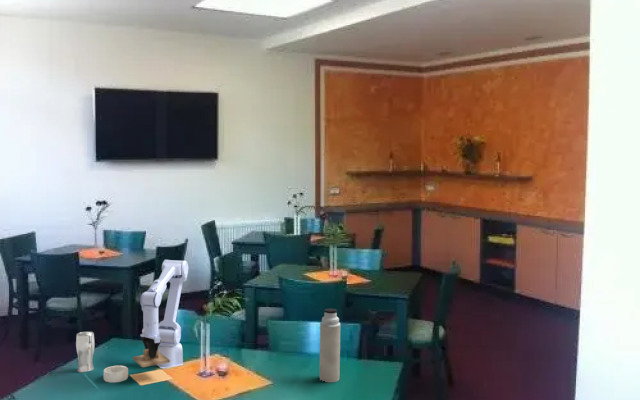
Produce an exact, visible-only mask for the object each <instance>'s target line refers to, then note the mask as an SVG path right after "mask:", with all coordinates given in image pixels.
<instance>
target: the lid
mask: <svg viewBox="0 0 640 400" xmlns="http://www.w3.org/2000/svg"><path fill="white" fill-rule="evenodd" d="M142 351H143V354H142V355H135V356H132V361H134V362H135V363H136V364H138V365H139V366H140V367H142V368H146V367H152V366H158V364H163V363H169V362H170V360H169V359H168V358H167V357H165V356H164V355H162V354H161V353H160V352H159V348H158V349H157V354H156V357H155V358H150V356H149V349H145V348H144V349H143V350H142Z"/></svg>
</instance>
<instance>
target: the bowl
mask: <svg viewBox="0 0 640 400" xmlns="http://www.w3.org/2000/svg"><path fill="white" fill-rule="evenodd" d="M128 378H129V368H128V367H127V366H126V365H113V366H108V367H106V368H104V369H103V381H105V382H107V383H120V382H124V381H126V380H127V379H128Z"/></svg>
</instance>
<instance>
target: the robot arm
mask: <svg viewBox="0 0 640 400" xmlns="http://www.w3.org/2000/svg"><path fill="white" fill-rule="evenodd" d="M161 271H162V272H161V273H160V275H159V277H158V278H157V279H155V280H154V281H153V282H152V284H151V285H150V287H149V288H148V289H147V291H144V292H142V294H141V296H140V300H139V301H140V302H139V303H140V306H141V311H142V313H143V314H142V315H143V317H142V318H143V320H142V323H143V325H142V326H143V328H142V330H141V332H142V333H140V337H141V338H140V339H141V342H142V343H143V345H144V349H149V356H150V358H155V357H156V354H157V349H158V350H159V352H160V353H161V354H162V355H164V356H165V357H167V358H168V359H169V360H170V362H169V363H163V364H158V365H157V367H159V368H160V369H161V370H162V369H168V368H173V367H178V366H183V365H184V359H183V356H184V353H183V351H184V350H183V346H182V344H181V343H180V341H181V337H182V334H181V333H182V327H181V326H180V324H179V323H178V322H176V321H177V315H178V310H179V306H180V305H179V304H180V298H181V293H182V288H183V284H184V283H185V282H186V281H187V279H188V274H189V264H188V261H186V259H185V260H174V259H173V260H171V259H164V260H163V261H162V264H161ZM167 283H170V284H169V290H168V294H167V295H168V297H167V302H166V306H165V310H164V317H163V320H161V321H160V322H159V307H160V305H161V303H162V299H163V295H164V293H165V291H166V289H167Z"/></svg>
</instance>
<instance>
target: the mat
mask: <svg viewBox="0 0 640 400" xmlns="http://www.w3.org/2000/svg"><path fill="white" fill-rule="evenodd" d="M129 377H131V378H132V379H133V380H134V381H135V382H137V384H138V385H139V386H144V385H145V386H146V385H150V384H154V383H159V382H165V381H170V380H173V379H174V378H173V377H172V376H171V375H169V374H168V373H167V372H165V371H164V370H162V369H161V368H160V369H156V370H150V371H145V372H140V373H134V374H129Z"/></svg>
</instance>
